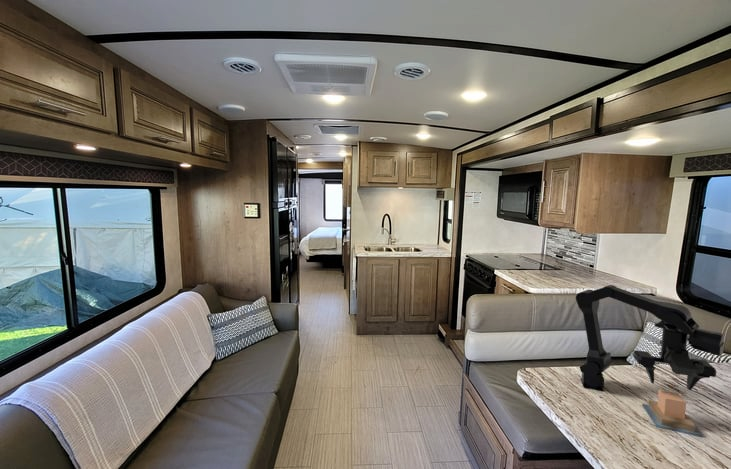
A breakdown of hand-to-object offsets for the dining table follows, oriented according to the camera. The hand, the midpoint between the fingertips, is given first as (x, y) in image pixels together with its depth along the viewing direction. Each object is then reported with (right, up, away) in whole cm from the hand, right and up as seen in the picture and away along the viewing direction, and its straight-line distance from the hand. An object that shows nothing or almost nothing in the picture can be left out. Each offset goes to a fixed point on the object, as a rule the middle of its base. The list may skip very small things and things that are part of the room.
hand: (670, 386), depth 99 cm
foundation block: (0, -12, 0) cm, 12 cm away
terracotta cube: (0, -9, 0) cm, 9 cm away
